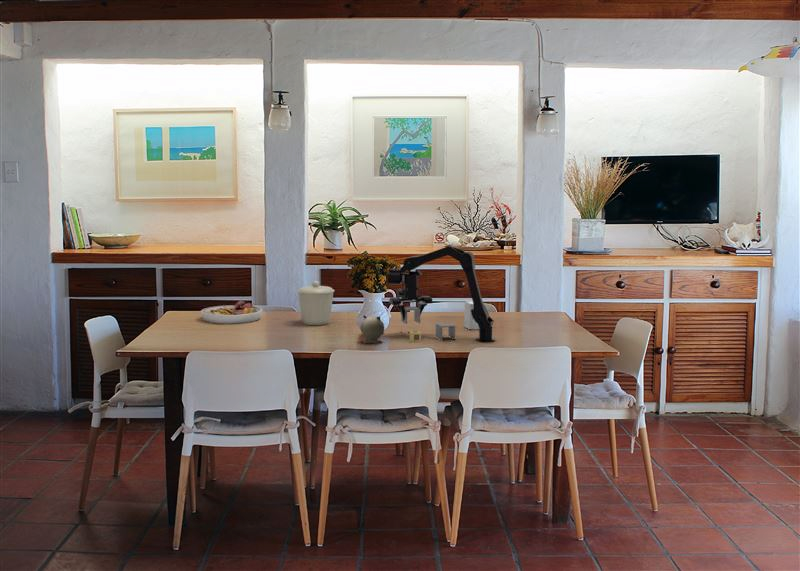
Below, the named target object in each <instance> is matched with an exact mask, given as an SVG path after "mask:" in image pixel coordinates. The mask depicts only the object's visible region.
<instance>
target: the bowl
mask: <svg viewBox="0 0 800 571" xmlns="http://www.w3.org/2000/svg"><path fill="white" fill-rule="evenodd" d="M262 314H263V308H262V307H259V306H255V305H254V306H253V304H252V303H251V302H248V303H246V302H245V301H243V300H239V301H237V302H236V303H235V304H234V305H233V304H232V305H231V304H230V305H217V306H209V307H206V308H203V309H201V310H200V315H201V318H202V319H203V320H204V321H206V322H207V323H212V324H222V325H223V324H224V325H234V324H236V325H237V323H238V324H245V323H252V322H255V321H257V320H258V319H260V318H261V317H262V316H263V315H262Z"/></svg>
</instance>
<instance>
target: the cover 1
mask: <svg viewBox="0 0 800 571" xmlns="http://www.w3.org/2000/svg"><path fill="white" fill-rule="evenodd" d="M408 311H413V312H414V313H413V314H414V315H413V316H414V317H413V321H414V322H416V323H418V324H421V315H420V308H418V306H404V315H405V317H404V320H403V319H402V317H401V322H402V323H404V324H405V325H407V324H408Z"/></svg>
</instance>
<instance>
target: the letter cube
mask: <svg viewBox="0 0 800 571" xmlns="http://www.w3.org/2000/svg"><path fill="white" fill-rule="evenodd" d="M409 341H411V343H415V342H422V331H421V332H420V330H409Z"/></svg>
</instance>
